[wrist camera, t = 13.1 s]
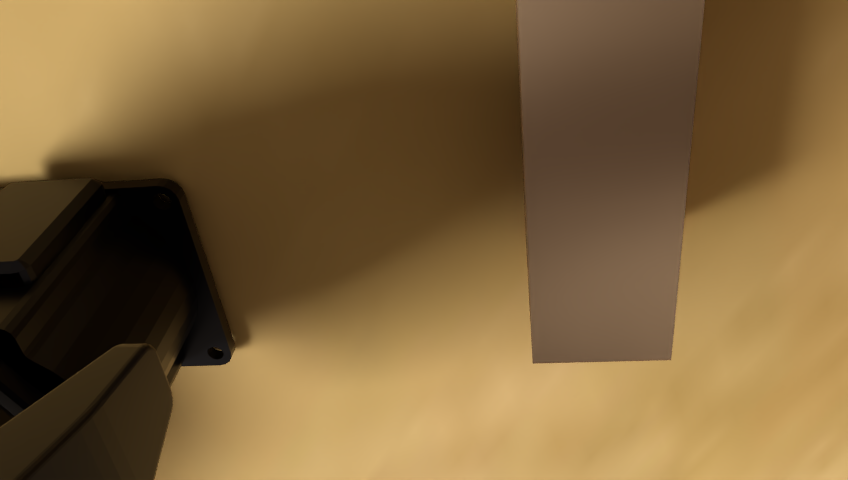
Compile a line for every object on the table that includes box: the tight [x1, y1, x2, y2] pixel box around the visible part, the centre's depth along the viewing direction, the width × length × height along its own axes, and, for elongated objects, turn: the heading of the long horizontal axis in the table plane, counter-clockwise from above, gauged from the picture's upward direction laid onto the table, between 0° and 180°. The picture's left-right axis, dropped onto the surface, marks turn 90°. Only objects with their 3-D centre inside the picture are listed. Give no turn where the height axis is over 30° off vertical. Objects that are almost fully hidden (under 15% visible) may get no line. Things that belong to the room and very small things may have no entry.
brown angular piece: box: [516, 0, 705, 363], centre depth 16 cm, size 11×14×5 cm
